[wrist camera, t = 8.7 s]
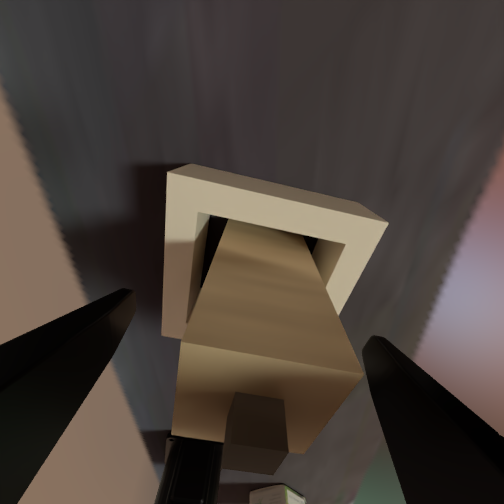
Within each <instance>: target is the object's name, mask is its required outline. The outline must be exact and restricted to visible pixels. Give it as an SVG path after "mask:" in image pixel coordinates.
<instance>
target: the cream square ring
mask: <svg viewBox="0 0 504 504" xmlns="http://www.w3.org/2000/svg"><path fill="white" fill-rule="evenodd" d="M210 214H211V215H215V216H220V217H224V218H229V219H233V220H238V221H243V222H247V223H252V224H256V225H261V226H265V227H270V228H275V229H279V230H284V231H288V232H293V233H297V234H302V235H307V236H311V237H316V238H318V241H317V243H316V246H315V248H314V251H313V253H312V258H313V260H314V263H315V265H316V267H317V269H318V272H319V274H320V276H321V278H322V281H323V283H324V285H325V287H326V290H327V292H328V294H329V296H330V299H331V301H332V303H333V305H334V308H335V310H336V312H337V314H338V315H339V314H340V312H341V310H342V308H343V306H344V304H345V303H346V301H347V299H348V297H349V295H350V293H351V292H352V290H353V288H354V286H355V284H356V282H357V281H358V279H359V277H360V275H361V273H362V271H363V269H364V268H365V266H366V264H367V262H368V260H369V258H370V257H371V255H372V253H373V251H374V249H375V247H376V246H377V244H378V242H379V240H380V238H381V236H382V235H383V233H384V231H385V229H386V227H387V225H388V224H389V223H388V222H387V221H385V220H384V219H382V218H380V217H379V216H377V215H376V214H374V213H373V212H371V211H370V210H368V209H367V208H365V207H364V206H362V205H361V204H359V203H357V202H353V201H349V200H345V199H341V198H336V197H332V196H328V195H324V194H319V193H315V192H311V191H306V190H302V189H298V188H294V187H289V186H285V185H281V184H277V183H272V182H268V181H264V180H260V179H255V178H251V177H247V176H243V175H238V174H234V173H230V172H225V171H221V170H217V169H213V168H208V167H204V166H200V165H196V164H188V165H185V166H182V167H180V168H177V169H174V170H171V171H169V172H167V192H166V221H165V249H164V278H163V307H162V336H167V337H172V338H178V339H182V338H183V336H184V333H185V331H186V328H187V325H188V323H189V320H190V318H191V315H192V312H193V310H194V307H195V305H196V302H197V299H198V297H199V294H200V292H201V289H202V288H200V285H201V277H202V270H203V262H204V255H205V247H206V240H207V233H208V225H209V218H210Z"/></svg>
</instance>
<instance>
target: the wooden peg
mask: <svg viewBox="0 0 504 504" xmlns="http://www.w3.org/2000/svg"><path fill="white" fill-rule="evenodd" d="M363 375H364V373H363V371H362V369H361V366H360V364H359V362H358V360H357V357H356V355H355V353H354V351H353V348H352V346H351V344H350V342H349V339H348V337H347V335H346V333H345V330H344V328H343V326H342V324H341V321H340V319H339V317H338V314H337V312H336V310H335V308H334V305H333V303H332V301H331V299H330V296H329V294H328V292H327V290H326V287H325V285H324V283H323V281H322V278H321V276H320V274H319V272H318V269H317V267H316V265H315V263H314V260H313V258H312V256H311V254H310V251H309V249H308V247H307V244H306V242H305V240H304V238H303V235H302V234H297V233H293V232H288V231H284V230H279V229H275V228H270V227H265V226H261V225H256V224H252V223H247V222H243V221H238V220H233V219H228V222H227V224H226V227H225V229H224V232H223V235H222V237H221V240H220V242H219V245H218V248H217V250H216V253H215V255H214V258H213V260H212V263H211V266H210V268H209V271H208V273H207V276H206V279H205V281H204V284H203V286H202V289H201V292H200V294H199V297H198V299H197V302H196V305H195V307H194V310H193V312H192V315H191V318H190V320H189V323H188V325H187V328H186V331H185V333H184V336H183V338H182V341H181V348H180V357H179V367H178V376H177V385H176V394H175V403H174V413H173V422H172V431H171V435H176V436H183V437H190V438H197V439H203V440H210V441H217V442H224V447H223V456H222V464H221V468H223V469H230V470H238V471H245V472H252V473H260V474H267V475H274V473H275V472H276V470H277V469H278V467H279V466H280V464H281V463H282V461H283V460H284V458H285V457H286V456H287V454H288V453H289V452H292V453H299V454H304V453H305V452H306V450H307V449H308V448H309V446H310V445H311V444H312V442H313V441H314V440H315V438H316V437H317V436H318V434H319V433H320V432H321V431H322V429H323V428H324V427H325V425H326V424H327V423H328V421H329V420H330V419H331V417H332V416H333V415H334V413H335V412H336V411H337V409H338V408H339V407H340V406H341V404H342V403H343V402H344V400H345V399H346V398H347V396H348V395H349V394H350V392H351V391H352V390H353V388H354V387H355V386H356V385H357V383H358V382H359V381H360V379H361V378H362V377H363Z"/></svg>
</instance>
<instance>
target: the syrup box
mask: <svg viewBox="0 0 504 504" xmlns="http://www.w3.org/2000/svg"><path fill="white" fill-rule="evenodd" d="M250 504H306V499H305V498H304V497H303V496H301V495H300V494H298V493H297V492H295V491H293V490H292V489H290V488H289V487H287V486H285V485H274V486H270V487H265V488H261V489H258V490H254V491H250Z"/></svg>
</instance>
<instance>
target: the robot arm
mask: <svg viewBox="0 0 504 504" xmlns="http://www.w3.org/2000/svg"><path fill="white" fill-rule="evenodd" d="M135 311H136V293H135V291H134V290H131V289H125V288H122V289H120V290H117V291H115V292H113V293H111V294H109V295H107V296H104V297H102V298H100V299H98V300H96V301H94V302H92V303H89V304H87V305H85V306H83V307H81V308H79V309H77V310H74V311H72V312H70V313H68V314H66V315H64V316H62V317H59V318H57V319H55V320H53V321H51V322H49V323H47V324H44V325H42V326H40V327H38V328H36V329H34V330H31V331H29V332H27V333H25V334H23V335H21V336H19V337H16V338H14V339H12V340H10V341H8V342H6V343H4V344H1V345H0V504H17V503H18V501H19V500H20V498H21V497H22V496H23V494H24V492H25V491H26V489H27V488H28V486H29V485H30V483H31V482H32V480H33V479H34V477H35V475H36V474H37V472H38V471H39V469H40V468H41V466H42V465H43V463H44V462H45V460H46V458H47V457H48V455H49V454H50V452H51V451H52V449H53V448H54V446H55V444H56V443H57V441H58V440H59V438H60V437H61V435H62V434H63V432H64V431H65V429H66V428H67V426H68V425H69V423H70V421H71V420H72V418H73V417H74V415H75V414H76V412H77V411H78V409H79V408H80V406H81V404H82V403H83V401H84V400H85V398H86V397H87V395H88V394H89V392H90V391H91V389H92V387H93V386H94V384H95V383H96V381H97V380H98V378H99V377H100V375H101V373H102V372H103V370H104V369H105V367H106V366H107V364H108V363H109V361H110V360H111V358H112V356H113V355H114V353H115V351H116V349H117V347H118V345H119V343H120V341H121V340H122V338H123V336H124V334H125V332H126V330H127V328H128V326H129V324H130V322H131V320H132V318H133V316H134V314H135ZM362 357H363V362H364V366H365V370H366V375H367V379H368V383H369V388H370V392H371V396H372V399H373V403H374V406H375V409H376V412H377V415H378V418H379V421H380V424H381V427H382V430H383V433H384V436H385V439H386V442H387V445H388V448H389V452H390V455H391V458H392V461H393V464H394V467H395V470H396V473H397V476H398V479H399V482H400V485H401V488H402V491H403V494H404V497H405V501H406V504H504V437H503V436H501V435H499V434H498V432H496V431H495V430H494V429H493V428H492V427H491V426H490V425H488V424H487V423H486V422H485V421H484V420H482V419H481V418H480V417H479V416H478V415H476V414H475V413H474V412H473V411H472V410H470V409H469V408H468V407H467V406H466V405H464V404H463V403H462V402H461V401H460V400H458V399H457V398H456V397H455V396H454V395H452V394H451V393H450V392H449V391H448V390H446V389H445V388H444V387H443V386H442V385H440V384H439V383H438V382H437V381H436V380H435V379H433V378H432V377H431V376H430V375H429V374H427V373H426V372H425V371H424V370H422V369H421V368H420V367H419V366H418V365H417V364H415V363H414V362H413V361H412V360H411V359H409V358H408V357H407V356H406V355H405V354H404V353H402V352H401V351H400V350H399V349H398V348H396V347H395V346H394V345H393V344H392V343H390V342H389V341H388V340H387V339H386V338H384V337H381V336H375V335H373V336H371V337H370V339H369V340H368V341H367V343H366V344H365V346H364V347H363V349H362ZM223 447H224V442H217V441H210V440H203V439H197V438H190V437H183V436H176V435H171V433H169V434H168V435H167V439H166V450H165V464H166V465H165V468H164V472H163V475H162V479H161V482H160V485H159V489H158V492H157V496H156V499H155V503H154V504H217V497H218V488H219V480H220V471H221V470H222V468H221V464H222V456H223Z"/></svg>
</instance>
